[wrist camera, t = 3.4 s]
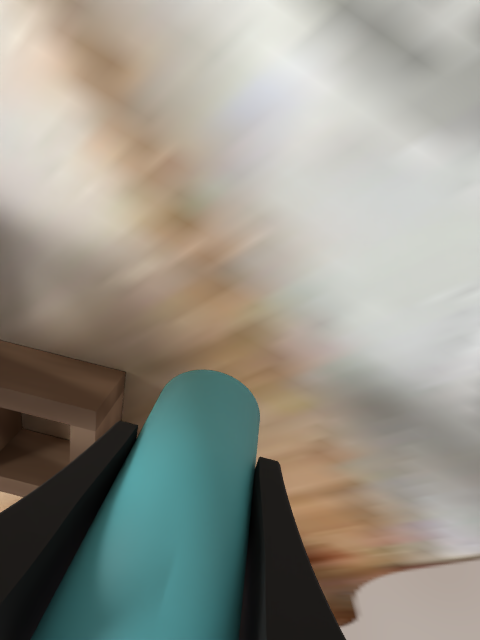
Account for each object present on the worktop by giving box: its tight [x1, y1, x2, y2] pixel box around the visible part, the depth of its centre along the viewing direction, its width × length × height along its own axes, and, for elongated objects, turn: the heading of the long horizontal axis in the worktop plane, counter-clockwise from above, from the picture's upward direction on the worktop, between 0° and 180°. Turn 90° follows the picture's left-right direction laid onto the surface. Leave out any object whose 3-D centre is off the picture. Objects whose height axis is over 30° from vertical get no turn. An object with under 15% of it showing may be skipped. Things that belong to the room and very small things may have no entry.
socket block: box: [0, 340, 126, 497], centre depth 23 cm, size 9×9×4 cm
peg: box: [30, 370, 260, 640], centre depth 10 cm, size 4×4×8 cm
